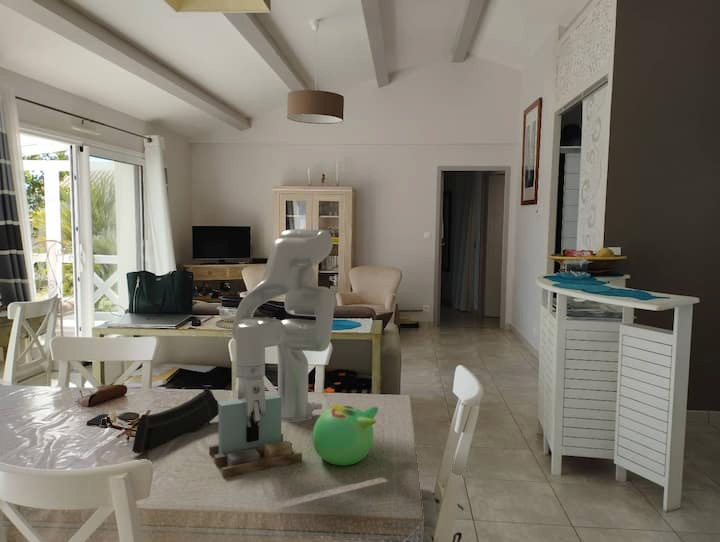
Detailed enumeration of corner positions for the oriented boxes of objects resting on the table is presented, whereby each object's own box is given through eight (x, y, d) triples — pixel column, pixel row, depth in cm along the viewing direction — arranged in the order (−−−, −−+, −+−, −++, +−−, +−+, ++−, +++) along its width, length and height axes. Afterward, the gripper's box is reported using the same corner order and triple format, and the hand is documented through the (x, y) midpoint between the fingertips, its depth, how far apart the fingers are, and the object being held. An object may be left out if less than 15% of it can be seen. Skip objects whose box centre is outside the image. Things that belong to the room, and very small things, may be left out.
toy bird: (316, 445, 146) (317, 393, 145) (377, 447, 146) (378, 395, 145) (308, 475, 128) (308, 417, 127) (377, 477, 128) (378, 418, 127)
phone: (101, 413, 166) (145, 417, 164) (101, 417, 166) (145, 420, 164) (84, 422, 158) (130, 426, 156) (84, 426, 158) (130, 430, 156)
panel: (277, 444, 144) (277, 394, 143) (281, 448, 142) (281, 397, 141) (218, 455, 137) (218, 402, 136) (221, 459, 134) (221, 405, 133)
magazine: (132, 428, 133) (210, 368, 159) (123, 425, 135) (202, 366, 160) (149, 482, 139) (221, 416, 164) (140, 479, 141) (213, 414, 166)
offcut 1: (254, 460, 134) (254, 448, 134) (259, 466, 131) (259, 454, 130) (227, 465, 131) (227, 453, 131) (231, 472, 127) (231, 460, 127)
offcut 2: (286, 453, 138) (286, 440, 138) (291, 459, 135) (291, 446, 134) (264, 458, 135) (264, 444, 135) (269, 464, 132) (269, 450, 132)
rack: (281, 442, 148) (281, 432, 147) (302, 465, 134) (302, 454, 133) (208, 456, 138) (208, 445, 138) (223, 482, 124) (223, 470, 124)
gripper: (274, 376, 132) (274, 447, 134) (255, 361, 146) (255, 425, 148) (245, 379, 129) (245, 452, 130) (228, 364, 143) (228, 430, 144)
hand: (250, 437), depth 139 cm, fingers closed on panel, 3 cm apart
